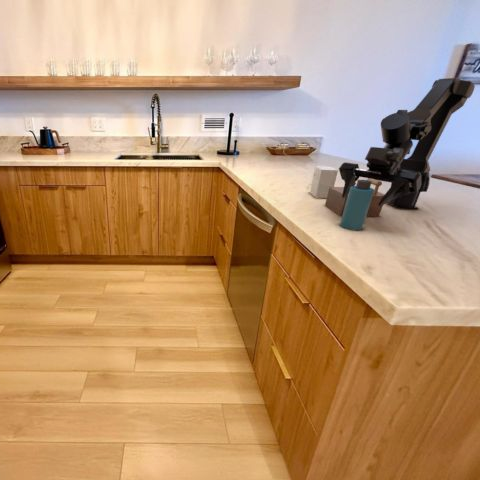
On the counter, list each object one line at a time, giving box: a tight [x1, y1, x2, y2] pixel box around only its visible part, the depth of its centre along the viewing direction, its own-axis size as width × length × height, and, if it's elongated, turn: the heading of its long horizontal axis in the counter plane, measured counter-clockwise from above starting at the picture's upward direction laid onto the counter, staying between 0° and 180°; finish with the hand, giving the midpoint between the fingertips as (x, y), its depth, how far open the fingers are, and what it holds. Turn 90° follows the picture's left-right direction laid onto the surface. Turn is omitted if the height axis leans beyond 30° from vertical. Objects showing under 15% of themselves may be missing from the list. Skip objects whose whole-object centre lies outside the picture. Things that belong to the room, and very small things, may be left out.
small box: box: [309, 165, 339, 199], centre depth 108 cm, size 8×6×10 cm
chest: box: [324, 189, 384, 218], centre depth 92 cm, size 12×11×6 cm
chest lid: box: [329, 178, 386, 198], centre depth 90 cm, size 12×11×4 cm
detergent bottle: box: [339, 179, 375, 231], centre depth 78 cm, size 5×5×13 cm
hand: (360, 201), depth 78 cm, fingers open, 9 cm apart
